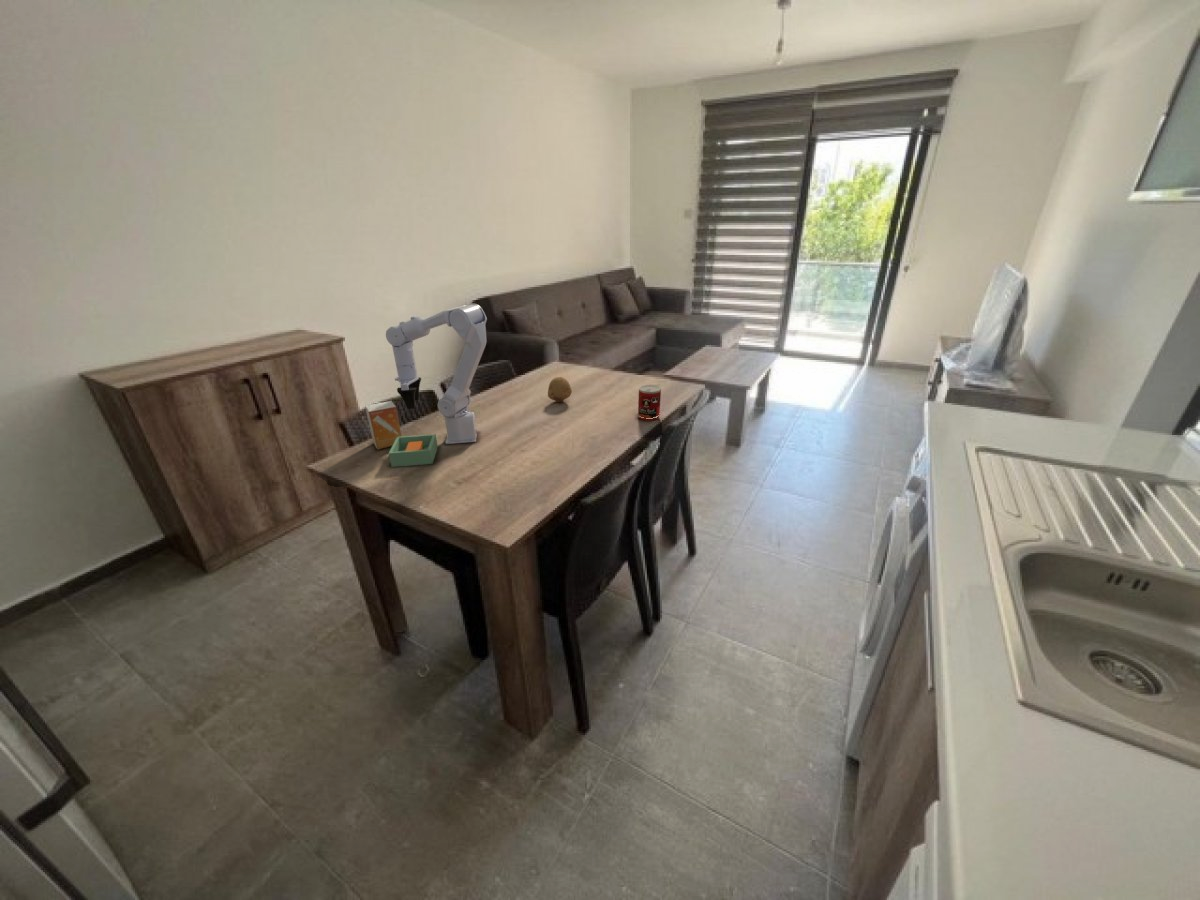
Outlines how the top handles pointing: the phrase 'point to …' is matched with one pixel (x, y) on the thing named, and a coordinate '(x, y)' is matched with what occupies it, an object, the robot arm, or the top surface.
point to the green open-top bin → (413, 451)
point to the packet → (415, 446)
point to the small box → (383, 424)
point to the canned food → (649, 402)
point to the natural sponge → (559, 389)
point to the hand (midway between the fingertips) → (413, 404)
